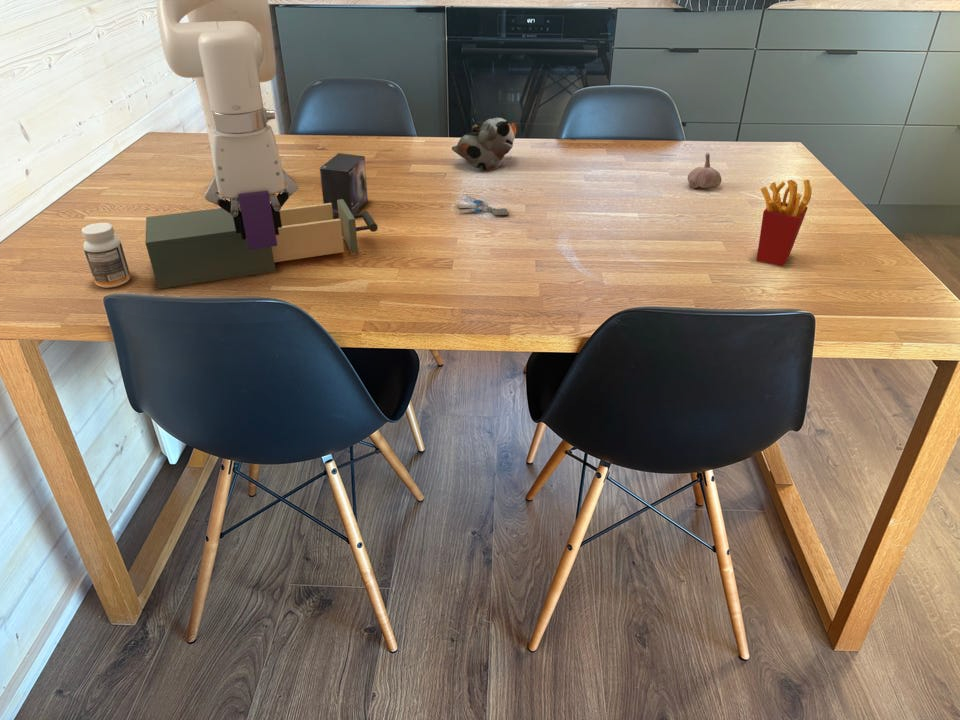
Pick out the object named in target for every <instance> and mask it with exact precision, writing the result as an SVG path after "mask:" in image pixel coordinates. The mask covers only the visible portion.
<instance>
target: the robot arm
mask: <svg viewBox="0 0 960 720" xmlns="http://www.w3.org/2000/svg"><path fill="white" fill-rule="evenodd" d="M156 16H157V17H156V18H157V24H158V29H159V34H160V40H161V46H162V50H163V55H164V57H165V61H166V63H167V65H168V67H169V69H170V70H171V71H172V72H173V73H174V74H175V75H176V76H179V77H181V78H186V79H187V78H188V79H191V78H193V80H194V82H195V85H196V89H197V91H198V95H199V99H200V103H201V106H202V107H201V108H202V111H203V117H204V121H205V126H206V131H207V136H208V142H209V146H210V147H209V148H210V155H211V161H212V167H213V174H214V176H213V178H212V180H211V181H210V183H209V185H208V187H207V189H206V190H205V192H204V199H205V201H207V202H209V203H212V204H213V205H215V206H219V208H222V209H224V210H225V211H227V212H228V213H230V214H231V215H232V216H233V219H234V224H235V229H236V234H237V233H241V236H242V240H244V239H246V233H245V228H244V223H243V218H242V214H241V211H240V209H239V196H238V194H244V193H253V192H261V191H268V193H269V198H270V204H271V210H272V216H273V222H274V228H275V234H276V235H279V230H278V228H282V223H281V217H280V210H281V209H282V207H283V206H284V205H285V203H286V202H287V201H288V200H289V198H290V197H291V196H292V195H294V193H296V192H297V191H298V190H299V185H298V183H297V182H296V181H295V180H294V179H293V178H292V177H291V176H290V174H288V173H287V172H286V171H285V170H284V168H283V166H282V160H281V155H280V152H279V148H278V144H277V141H276V137H275V134H274V131H273V128H272V126H271V125H269V124H268V123H269V121H271V120H276V114H275V111H274V109H267V108H266V107H264V101H263V95H262V88H261V83H266V82H270V81H272V80H273V79H274V78H275V76H276V73H277V59H276V51H275V44H274V33H273V25H272V17H271V10H270V5H269V0H157V4H156ZM185 16H187V20H188V22H181V21H182V19H183V18H184V17H185ZM285 185H286V186H285ZM217 193H219V194H217Z"/></svg>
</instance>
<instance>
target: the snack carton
mask: <svg viewBox="0 0 960 720" xmlns="http://www.w3.org/2000/svg"><path fill="white" fill-rule="evenodd" d="M238 196H239V206H240V211H241V214H242V218H243V223H244V228H245V233H246V240H247V244H248V248H249V250H251V249H258V248H265V247H272V246H277V240H276V234H275V228H274V222H273V216H272V210H271V202H270V198H269V193H268V191H261V192H253V193H244V194H238Z"/></svg>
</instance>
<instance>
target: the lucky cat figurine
mask: <svg viewBox="0 0 960 720" xmlns="http://www.w3.org/2000/svg"><path fill="white" fill-rule="evenodd" d="M516 135H517V122H512V123H510V121H509V120H507V119H504V118H502V117H494V118H489V119H487V120H485V121H484V122H482V124H481V126H480V127H479V126H478V125H477V124H476V123H474V124H473V125H472V127H471V131H470V132H469V133H466V134H464V135H463V136H461V137H460V139H458V140H459V141H457V144H456V145H455V146H454V145H453V146H452V147H451V150H452V151H453V152H454V153H455V154H457V155H458V156H460V157H461V158H463V159H464V160H465V161H466V162H467V163H469V164H470V165H472V166H473V167H476V168H482V170H483V171H485V172H487V171H491V170H495V169H497V168H500V167H501V166H502V164H503V159H504V157H505V156H506V155H507V154H508V153H509V152H510V151H511V150H512V148H513V147H514V146H513V145H514V142H515V138H516Z"/></svg>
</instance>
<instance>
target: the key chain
mask: <svg viewBox="0 0 960 720" xmlns="http://www.w3.org/2000/svg"><path fill="white" fill-rule="evenodd" d="M465 196H466V197H468V198H470V199H471V200H473V203H474V204H460V205H458V208H459V212H480V211H489V212H492V214H493V216H506V215H509V214H510V211H508V209H507V208H505V207H503V208H502V207H501V208H495V207H491V206H489V203H488V202H487V201H484V200H482V199H477V198H474V197H472V196H471V195H469V194H465ZM479 204H486V205H480V206H479V207H478V205H479Z"/></svg>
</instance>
